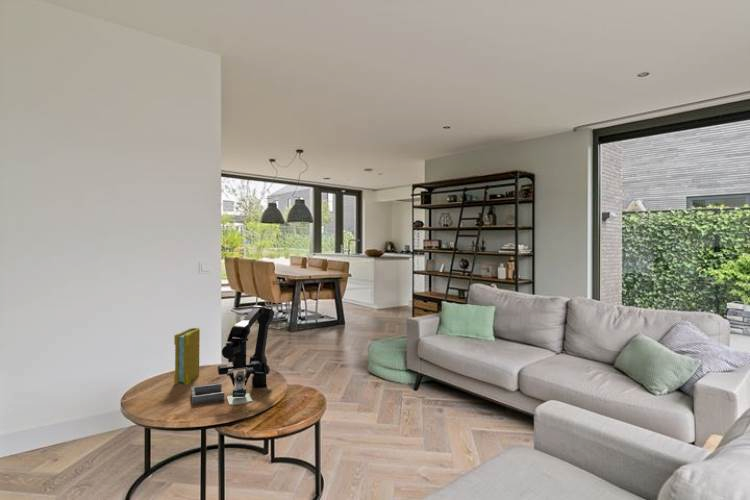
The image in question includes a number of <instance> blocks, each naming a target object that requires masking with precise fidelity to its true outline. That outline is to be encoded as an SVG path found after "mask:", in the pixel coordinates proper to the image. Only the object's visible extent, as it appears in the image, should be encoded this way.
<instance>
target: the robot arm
mask: <svg viewBox="0 0 750 500" xmlns="http://www.w3.org/2000/svg"><path fill="white" fill-rule="evenodd" d="M274 317H275V310H274V309H273V308H271V307H264V306H262V305H253V307H252V308H251V310H250V311H249V312H248V314H247V315H246V316H245V317H244V319H242V320H240V321H239V322H236V323H235V324H234V325H232V327H231V328H230V332H229V335H228V337H227V340H226V343H225V346H224V347H222V349H221V355H222V357H223V358H225V359H227V363H231V366H228V364H220V365H218V366H217V373H218V375H220V376H222V375H226V376H229V378H230V380H231V383H232V386H233V388H234V387H236V385H235V381H234V378H235V374H234V371H240V370H245V371H244V374H245V378H246V380H245V382H244V384H243V386H247V383H248V381H249V379H250V376H251V375H252V376H251V386H252V387H253V388H254V389H256V388H263V387H268V384H267V375H269V374H270V370H271V368H270V366H269V365H268V363H267V362H268V360H267V357H266V354H265V353H266V345H267V341H268V340H267V339H268V333H269V326H270V324H272V322H273V320H274ZM256 321H257V323H258V330H257V335H256V342H255V343H256V344H255V351H254V354H253V355H252V356H250V357H249V363H247V342H248V341H249V338H248V337H249V335H250V333H251V327H252V326H253V325H254V324H255V323H256Z"/></svg>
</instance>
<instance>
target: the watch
mask: <svg viewBox="0 0 750 500" xmlns="http://www.w3.org/2000/svg"><path fill="white" fill-rule="evenodd" d="M245 380H246V378H245V371H244V370H241V371H240V370H238V372H237V373H236V375H234V381H235V387H234V386H233V389H232V395H233V397H245V396H246V393H247V386H244V382H245Z"/></svg>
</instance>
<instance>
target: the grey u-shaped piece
mask: <svg viewBox="0 0 750 500" xmlns="http://www.w3.org/2000/svg"><path fill="white" fill-rule="evenodd" d="M190 388H191V389H190V393H191V394H190V395H191V405H192V406H196V405H200V404H208V403H214V402H221V400H222V401H225V391H222V383H221V382H220V383H214V384H213V383H212V384H205V385H198V386H191V387H190Z"/></svg>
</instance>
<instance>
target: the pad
mask: <svg viewBox="0 0 750 500" xmlns="http://www.w3.org/2000/svg"><path fill="white" fill-rule="evenodd" d="M226 399H227V402H228V406H235V405H243V404H248V403H253V399H252V396H251V395H250V393H249V392H248V393H247V392H246V396H245V397H233V394H231V395H227V396H226Z"/></svg>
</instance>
